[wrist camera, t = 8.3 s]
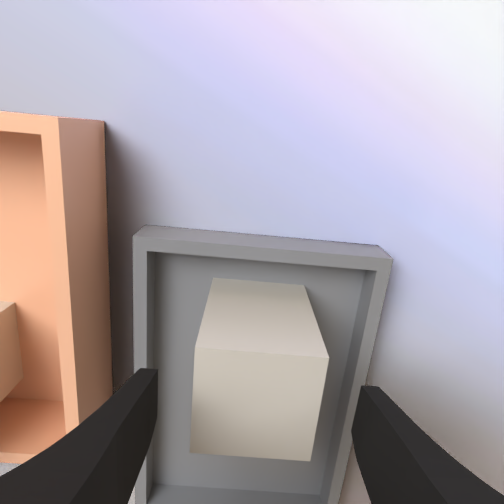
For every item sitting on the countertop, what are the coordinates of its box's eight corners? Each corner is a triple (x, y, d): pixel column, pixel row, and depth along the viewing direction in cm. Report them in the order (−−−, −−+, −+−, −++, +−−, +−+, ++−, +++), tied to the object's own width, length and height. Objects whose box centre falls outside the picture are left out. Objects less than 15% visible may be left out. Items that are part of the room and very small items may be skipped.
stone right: (292, 362, 19) (310, 461, 13) (208, 356, 19) (189, 452, 13) (304, 285, 18) (329, 357, 12) (213, 277, 18) (194, 347, 12)
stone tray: (326, 493, 23) (333, 526, 21) (145, 481, 22) (135, 514, 20) (378, 245, 18) (393, 258, 16) (145, 224, 17) (132, 236, 15)
